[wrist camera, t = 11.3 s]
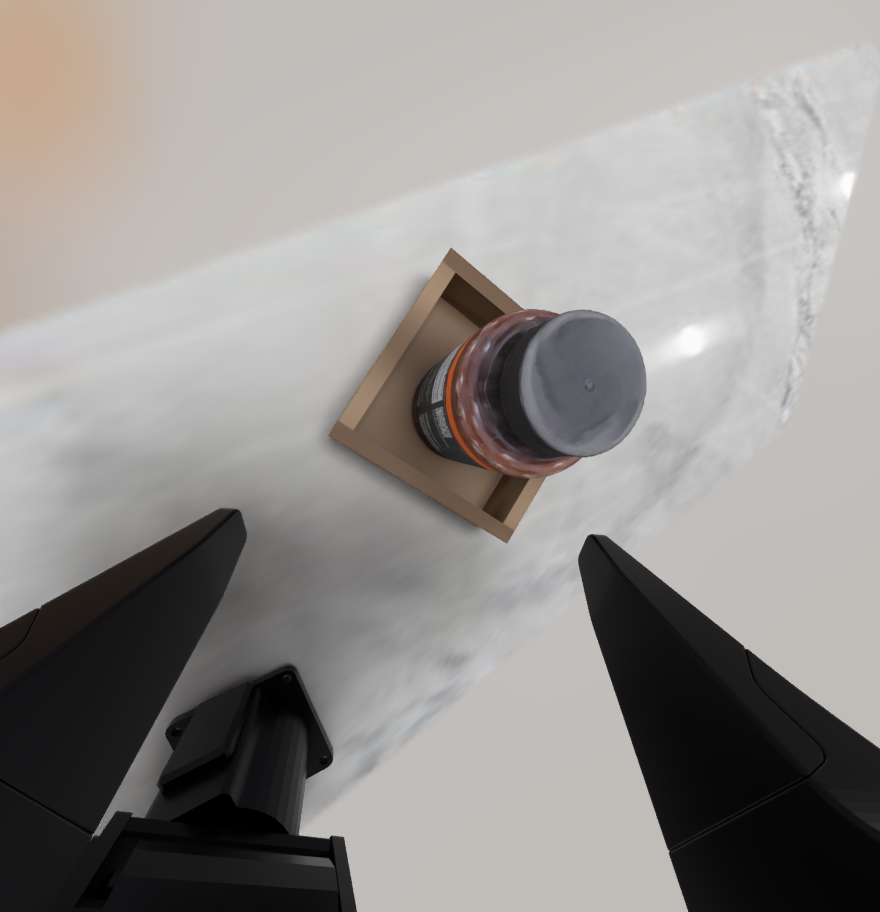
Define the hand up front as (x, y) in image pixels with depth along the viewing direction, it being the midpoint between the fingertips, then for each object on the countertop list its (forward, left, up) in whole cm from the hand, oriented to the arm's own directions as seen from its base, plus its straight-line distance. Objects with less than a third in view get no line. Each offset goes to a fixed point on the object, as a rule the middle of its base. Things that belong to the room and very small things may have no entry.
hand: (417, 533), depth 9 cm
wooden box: (+2, -6, -11) cm, 13 cm away
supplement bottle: (+2, -6, -11) cm, 12 cm away
